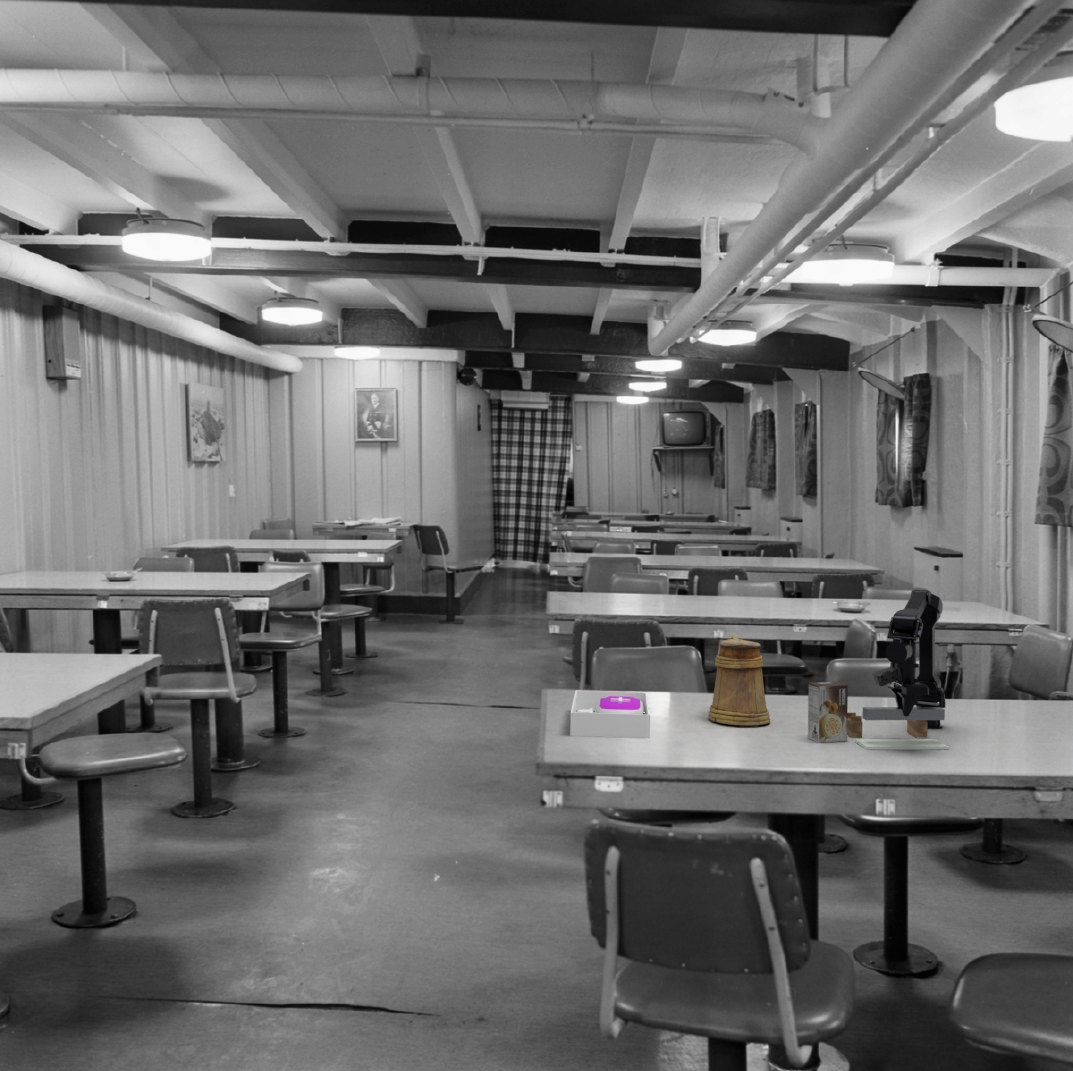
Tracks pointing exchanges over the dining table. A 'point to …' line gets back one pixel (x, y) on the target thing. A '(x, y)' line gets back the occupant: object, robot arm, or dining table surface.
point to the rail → (898, 713)
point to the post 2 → (917, 728)
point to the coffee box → (827, 711)
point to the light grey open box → (610, 714)
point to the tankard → (739, 685)
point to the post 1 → (854, 725)
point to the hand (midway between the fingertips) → (903, 715)
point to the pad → (901, 744)
